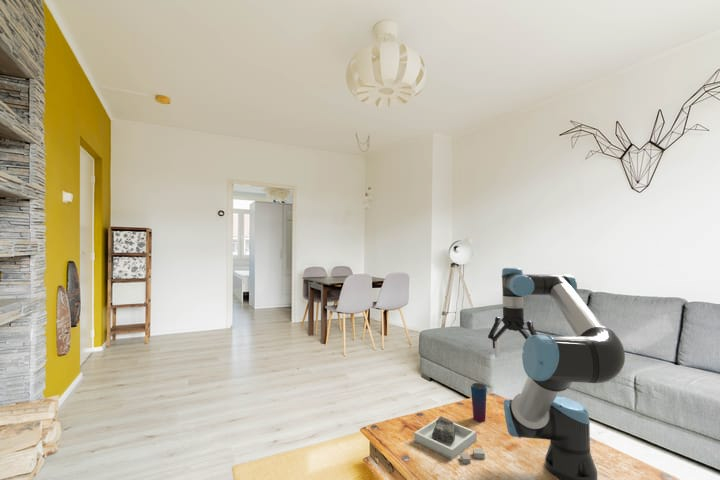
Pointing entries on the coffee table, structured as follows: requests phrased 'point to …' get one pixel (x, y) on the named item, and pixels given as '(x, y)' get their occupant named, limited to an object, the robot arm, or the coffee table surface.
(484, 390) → the cup
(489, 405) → the coffee table surface
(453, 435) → the rock
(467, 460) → the chip
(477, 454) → the grey small block
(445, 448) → the bin
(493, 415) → the coffee table surface
